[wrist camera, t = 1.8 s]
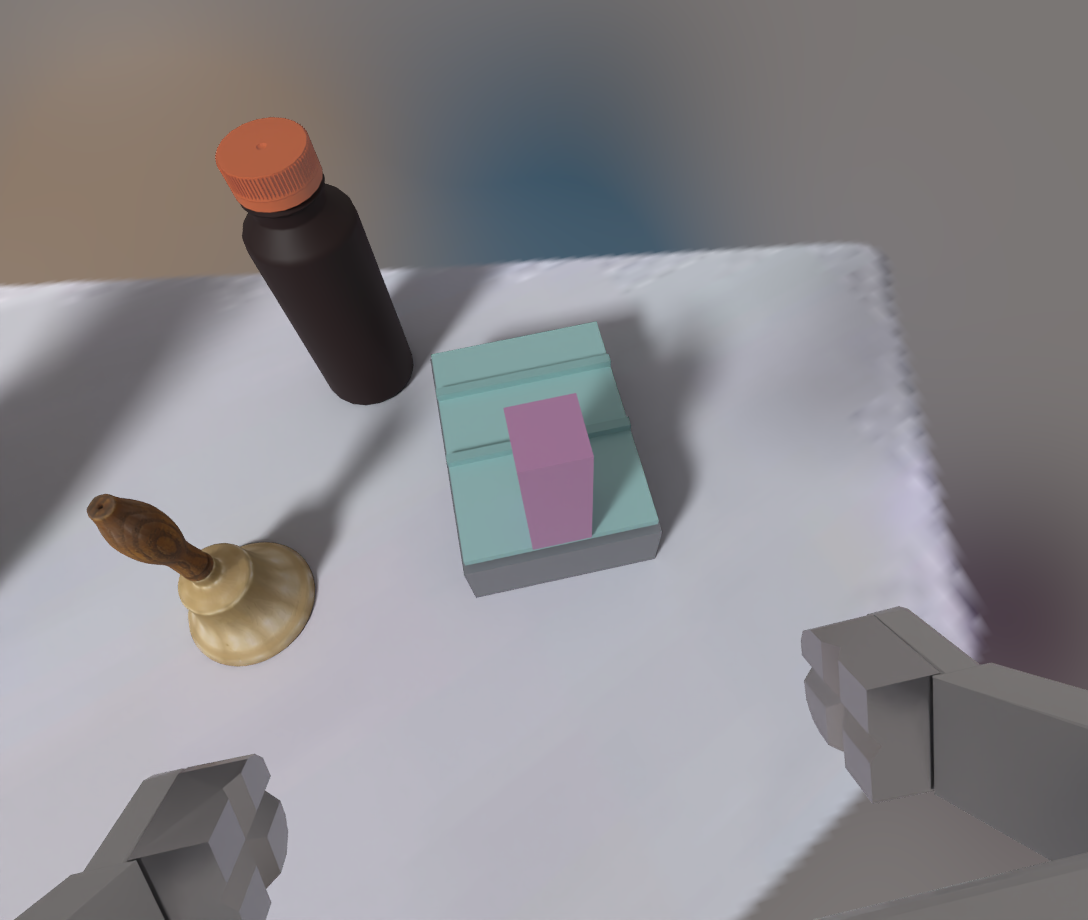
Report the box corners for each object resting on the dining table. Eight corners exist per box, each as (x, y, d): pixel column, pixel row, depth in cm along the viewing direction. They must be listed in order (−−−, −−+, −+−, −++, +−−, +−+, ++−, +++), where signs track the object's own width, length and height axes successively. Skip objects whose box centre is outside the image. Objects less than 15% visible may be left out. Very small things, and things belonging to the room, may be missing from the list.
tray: (443, 396, 50) (430, 359, 46) (596, 365, 51) (597, 325, 47) (476, 597, 43) (464, 574, 39) (654, 558, 43) (662, 532, 39)
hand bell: (308, 528, 46) (185, 406, 32) (322, 644, 42) (189, 564, 28) (189, 562, 45) (8, 452, 31) (192, 683, 41) (-11, 620, 27)
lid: (432, 359, 46) (393, 244, 36) (596, 326, 46) (599, 204, 37) (465, 568, 38) (427, 491, 29) (658, 526, 39) (681, 438, 30)
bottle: (335, 338, 54) (212, 108, 36) (418, 334, 53) (335, 101, 36) (323, 409, 50) (181, 195, 33) (410, 406, 50) (315, 188, 32)
